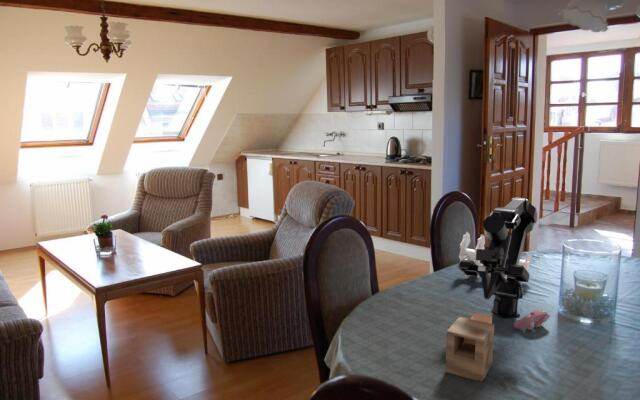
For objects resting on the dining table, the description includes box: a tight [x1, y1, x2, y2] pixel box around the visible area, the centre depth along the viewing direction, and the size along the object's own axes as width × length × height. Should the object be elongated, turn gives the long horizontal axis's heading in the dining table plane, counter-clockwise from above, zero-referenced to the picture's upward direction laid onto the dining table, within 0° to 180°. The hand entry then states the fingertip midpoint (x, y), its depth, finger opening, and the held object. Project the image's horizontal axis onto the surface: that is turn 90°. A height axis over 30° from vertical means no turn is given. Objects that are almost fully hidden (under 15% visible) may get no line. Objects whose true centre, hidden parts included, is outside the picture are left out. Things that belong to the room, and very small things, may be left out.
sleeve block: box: [444, 316, 495, 383], centre depth 125 cm, size 10×9×11 cm
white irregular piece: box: [458, 231, 533, 284], centre depth 188 cm, size 18×18×25 cm
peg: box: [464, 311, 493, 345], centre depth 130 cm, size 10×4×4 cm, turn 147°
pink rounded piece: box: [513, 309, 550, 331], centre depth 148 cm, size 10×5×7 cm, turn 118°
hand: (486, 298), depth 138 cm, fingers closed
